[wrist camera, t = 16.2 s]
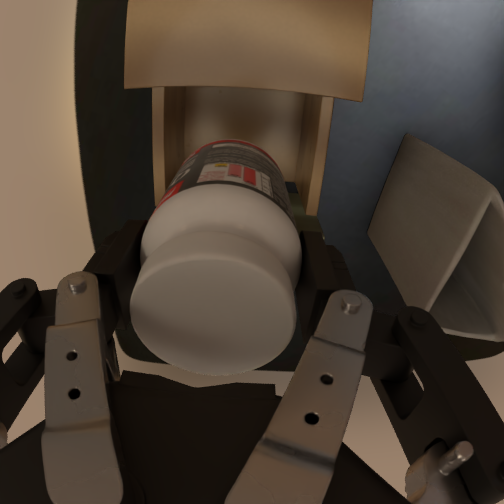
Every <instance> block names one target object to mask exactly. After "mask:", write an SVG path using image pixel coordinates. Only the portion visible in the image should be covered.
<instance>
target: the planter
mask: <svg viewBox="0 0 504 504" xmlns="http://www.w3.org/2000/svg"><path fill="white" fill-rule="evenodd" d="M367 234H368V236H369V238H370V239H371V241H372V243H373V244H374V246H375V248H376V250H377V251H378V253H379V255H380V257H381V258H382V260H383V262H384V264H385V265H386V267H387V269H388V271H389V273H390V274H391V276H392V278H393V280H394V282H395V284H396V286H397V288H398V289H399V291H400V293H401V295H402V297H403V299H404V301H405V303H406V305H407V306H415V307H419V308H422V309H424V310H426V311H427V312H429V313H430V314H431V315H432V316H433V317H434V319H435V320H436V321H437V323H438V324H439V325H440V327H441V328H442V329H443V331H444V332H445V333H447V334H453V335H458V336H463V337H470V338H477V339H484V340H491V341H496V342H500V341H504V203H503V201H502V199H501V196H500V194H499V192H498V190H497V189H496V188H495V187H494V186H493V185H492V184H491V183H489V182H488V181H487V180H485V179H484V178H482V177H481V176H480V175H478V174H477V173H475V172H474V171H472V170H471V169H469V168H467V167H466V166H464V165H463V164H461V163H459V162H458V161H456V160H455V159H453V158H451V157H450V156H448V155H446V154H444V153H443V152H441V151H439V150H438V149H436V148H434V147H432V146H430V145H429V144H427V143H425V142H423V141H421V140H420V139H418V138H416V137H414V136H412V135H410V134H406V135H405V136H404V138H403V141H402V143H401V146H400V148H399V151H398V153H397V156H396V158H395V161H394V163H393V166H392V168H391V171H390V173H389V175H388V178H387V180H386V183H385V185H384V188H383V191H382V193H381V196H380V198H379V201H378V204H377V206H376V209H375V211H374V214H373V217H372V220H371V223H370V226H369V229H368V232H367Z"/></svg>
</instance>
